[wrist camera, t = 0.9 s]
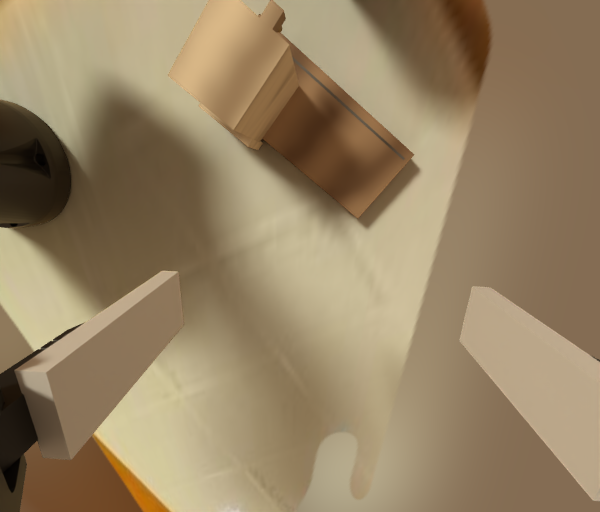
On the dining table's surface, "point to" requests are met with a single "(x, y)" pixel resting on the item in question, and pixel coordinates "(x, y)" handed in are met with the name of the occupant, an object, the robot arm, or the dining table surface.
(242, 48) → the tan block with peg
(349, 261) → the dining table surface
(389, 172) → the plank
